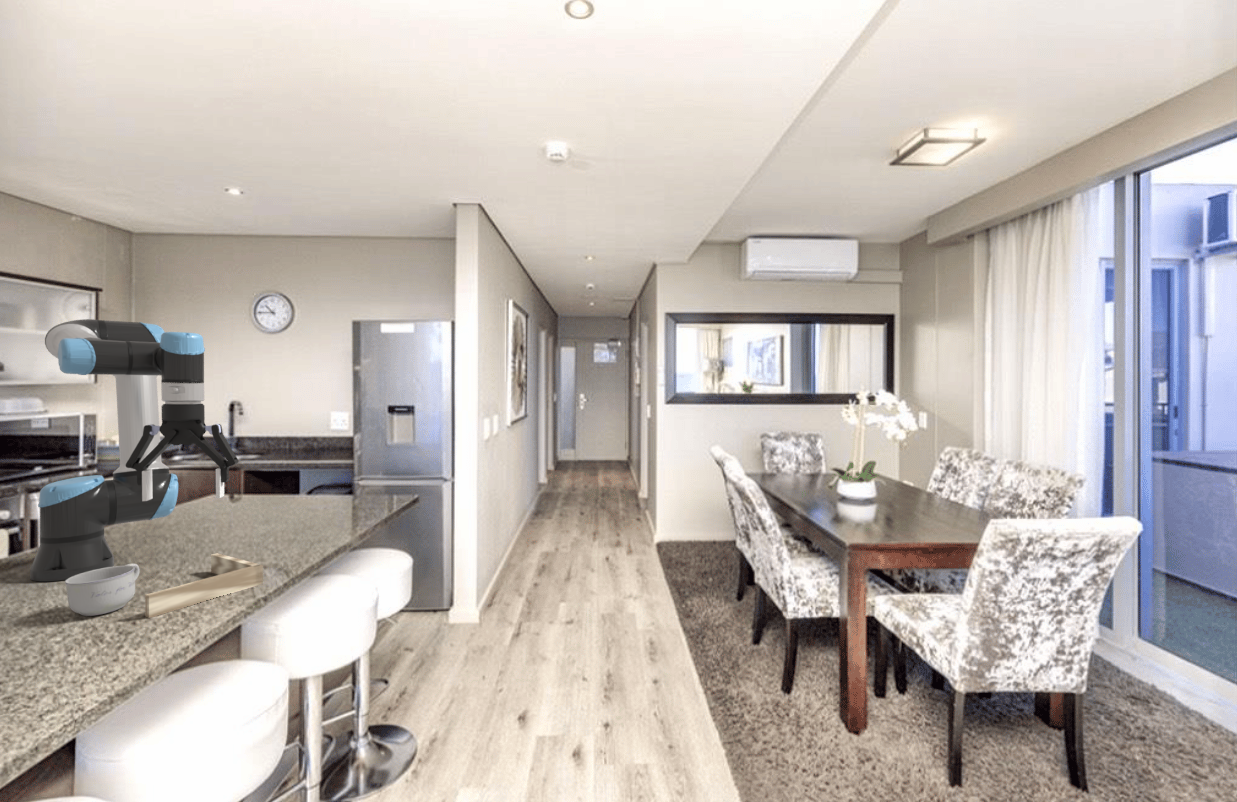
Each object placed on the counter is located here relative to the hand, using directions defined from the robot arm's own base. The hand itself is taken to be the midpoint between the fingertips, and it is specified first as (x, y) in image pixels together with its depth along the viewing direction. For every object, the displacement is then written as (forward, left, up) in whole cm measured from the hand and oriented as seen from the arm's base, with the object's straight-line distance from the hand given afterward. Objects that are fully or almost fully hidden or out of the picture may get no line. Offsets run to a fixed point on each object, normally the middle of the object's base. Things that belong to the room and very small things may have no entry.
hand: (184, 498), depth 125 cm
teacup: (-7, -11, -22) cm, 26 cm away
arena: (-3, +1, -22) cm, 22 cm away
